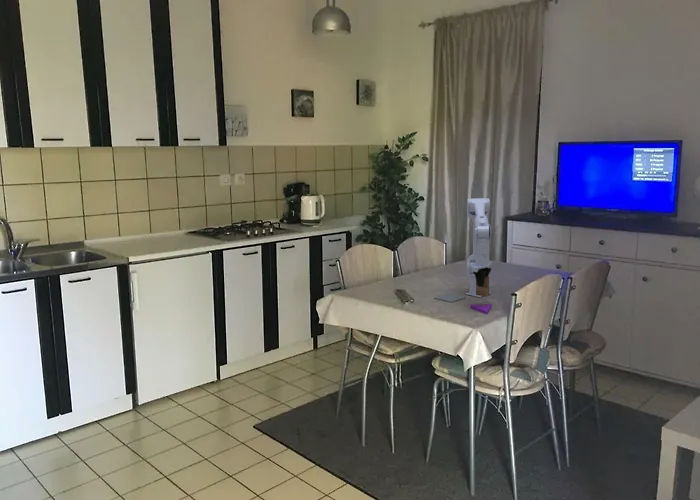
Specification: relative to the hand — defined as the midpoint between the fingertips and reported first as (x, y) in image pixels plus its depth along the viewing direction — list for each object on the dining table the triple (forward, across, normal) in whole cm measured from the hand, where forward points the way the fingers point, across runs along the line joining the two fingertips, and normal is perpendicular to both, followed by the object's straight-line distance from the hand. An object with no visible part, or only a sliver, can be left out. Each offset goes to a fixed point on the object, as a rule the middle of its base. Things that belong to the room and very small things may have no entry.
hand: (481, 285), depth 247 cm
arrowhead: (+9, +1, 0) cm, 9 cm away
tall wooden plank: (+4, 0, 0) cm, 4 cm away
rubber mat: (+9, -5, -18) cm, 21 cm away
